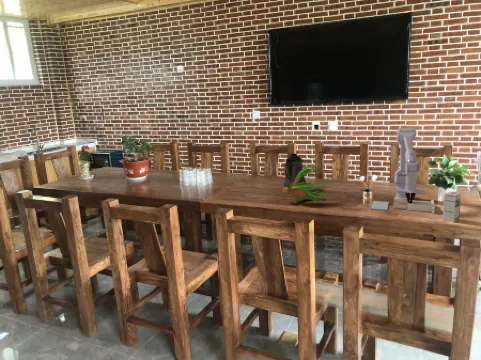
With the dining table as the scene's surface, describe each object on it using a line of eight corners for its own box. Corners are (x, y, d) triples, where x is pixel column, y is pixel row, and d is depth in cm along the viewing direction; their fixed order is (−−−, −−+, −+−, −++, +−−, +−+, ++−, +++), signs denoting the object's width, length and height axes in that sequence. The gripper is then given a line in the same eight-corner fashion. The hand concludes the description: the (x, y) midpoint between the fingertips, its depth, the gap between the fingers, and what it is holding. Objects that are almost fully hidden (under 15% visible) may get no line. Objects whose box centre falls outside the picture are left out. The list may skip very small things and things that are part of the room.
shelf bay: (407, 204, 233) (407, 198, 233) (433, 205, 228) (433, 200, 227) (407, 211, 219) (407, 205, 218) (434, 213, 214) (434, 207, 213)
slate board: (373, 201, 241) (373, 200, 241) (388, 202, 238) (388, 201, 237) (370, 209, 227) (370, 208, 227) (387, 210, 223) (387, 209, 223)
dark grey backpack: (306, 185, 290) (306, 151, 285) (306, 191, 272) (306, 156, 266) (284, 185, 293) (283, 152, 288) (282, 191, 275) (281, 156, 269)
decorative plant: (279, 207, 257) (321, 200, 264) (293, 210, 233) (339, 202, 239) (274, 168, 256) (316, 162, 263) (287, 166, 232) (334, 160, 239)
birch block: (393, 205, 231) (394, 197, 230) (406, 206, 228) (407, 198, 227) (393, 208, 227) (393, 199, 226) (406, 208, 224) (406, 200, 223)
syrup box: (453, 222, 200) (456, 194, 197) (442, 219, 204) (444, 192, 201) (459, 219, 203) (461, 192, 200) (447, 217, 208) (449, 190, 205)
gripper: (397, 183, 222) (396, 206, 225) (425, 185, 216) (423, 208, 219) (397, 180, 228) (396, 203, 231) (424, 182, 222) (423, 205, 225)
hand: (409, 205), depth 225 cm, fingers closed
